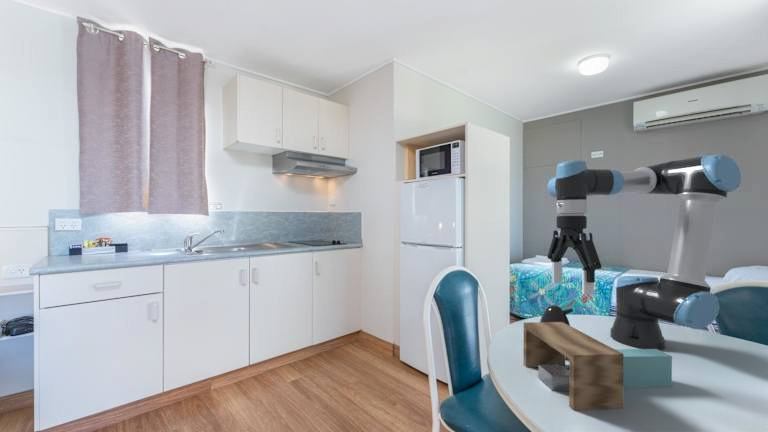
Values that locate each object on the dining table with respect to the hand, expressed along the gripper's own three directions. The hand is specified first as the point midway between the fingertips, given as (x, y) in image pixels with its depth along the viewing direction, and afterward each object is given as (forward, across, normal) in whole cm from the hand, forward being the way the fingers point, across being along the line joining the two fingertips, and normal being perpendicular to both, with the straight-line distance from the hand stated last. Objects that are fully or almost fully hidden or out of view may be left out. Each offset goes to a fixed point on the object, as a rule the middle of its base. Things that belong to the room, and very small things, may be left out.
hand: (571, 288), depth 91 cm
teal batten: (+24, +8, +9) cm, 26 cm away
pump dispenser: (+24, -11, +2) cm, 26 cm away
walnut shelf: (+23, +8, -7) cm, 25 cm away
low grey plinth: (+23, +8, -10) cm, 27 cm away
